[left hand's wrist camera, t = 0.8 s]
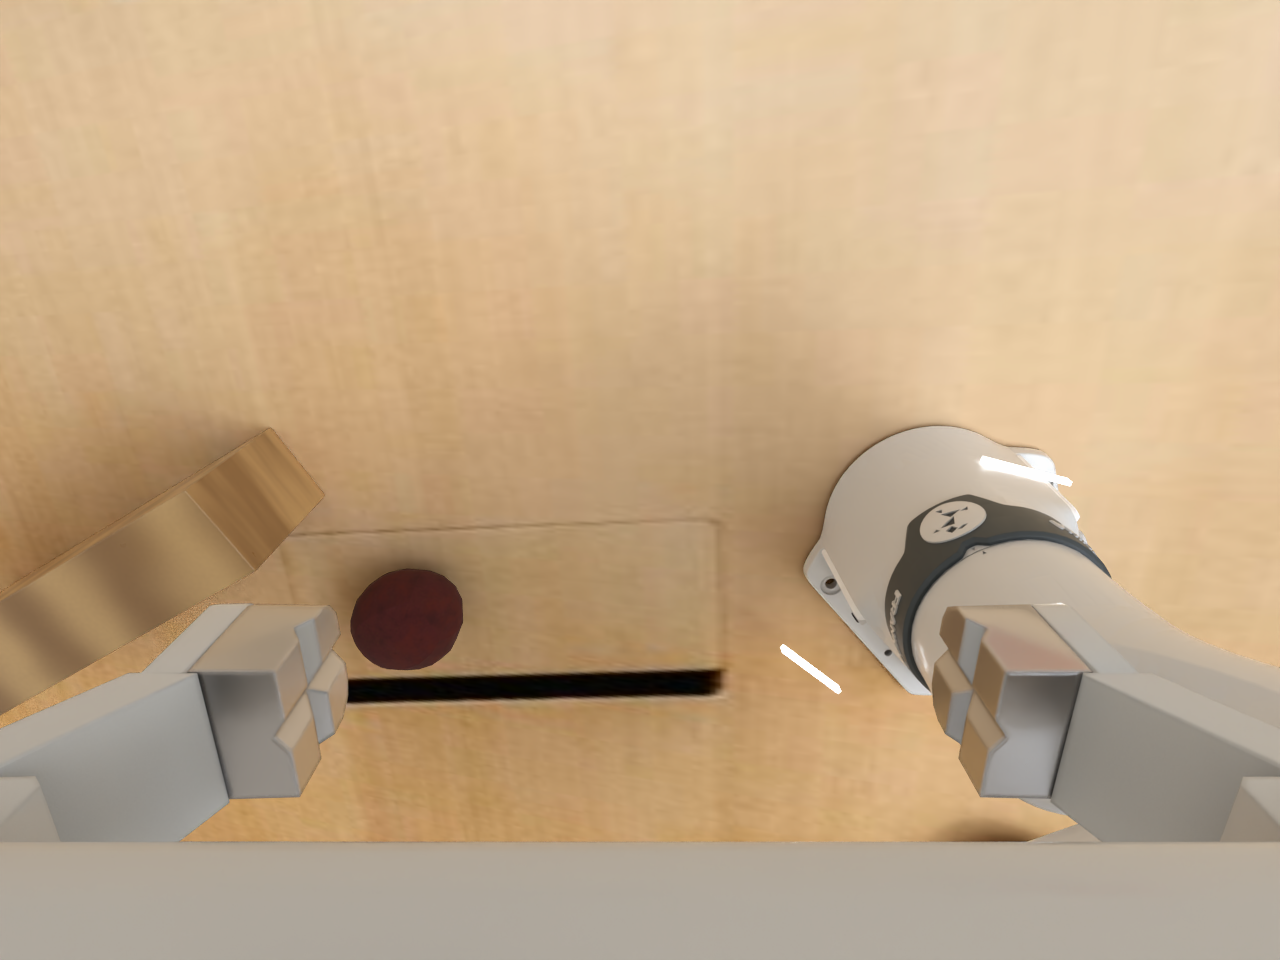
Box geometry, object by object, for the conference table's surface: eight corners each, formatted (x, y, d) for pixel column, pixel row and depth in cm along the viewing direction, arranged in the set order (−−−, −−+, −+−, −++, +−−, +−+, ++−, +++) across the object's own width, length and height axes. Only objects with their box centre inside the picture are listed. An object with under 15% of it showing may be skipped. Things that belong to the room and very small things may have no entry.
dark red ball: (351, 580, 57) (314, 634, 51) (434, 532, 56) (407, 581, 49) (411, 650, 60) (383, 710, 53) (492, 606, 58) (474, 662, 52)
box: (271, 426, 53) (184, 490, 43) (326, 495, 55) (255, 571, 45) (13, 583, 58) (-121, 674, 47) (72, 641, 60) (-44, 740, 49)
